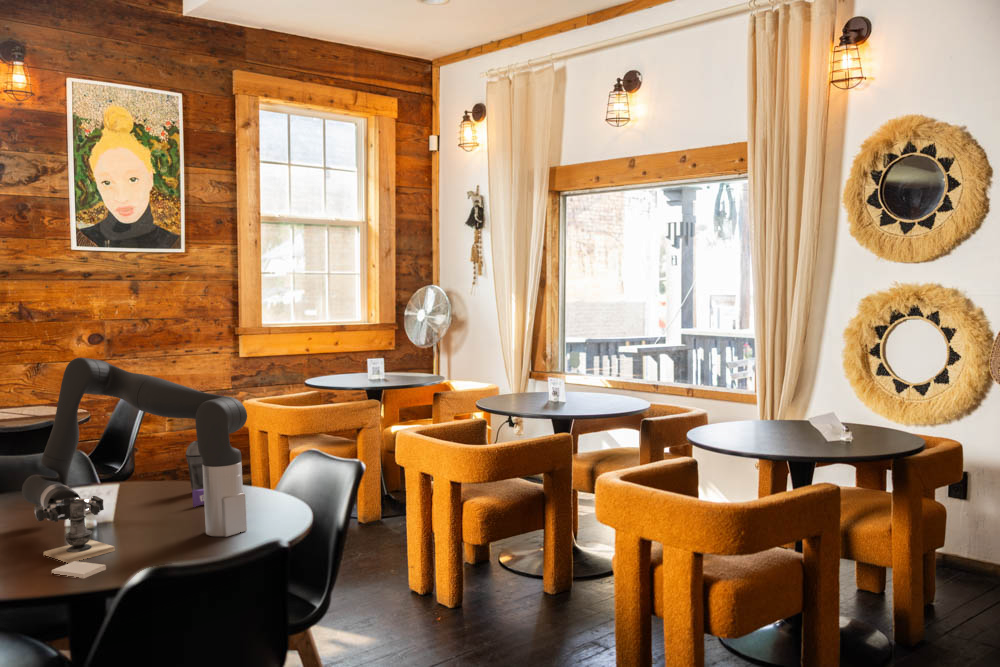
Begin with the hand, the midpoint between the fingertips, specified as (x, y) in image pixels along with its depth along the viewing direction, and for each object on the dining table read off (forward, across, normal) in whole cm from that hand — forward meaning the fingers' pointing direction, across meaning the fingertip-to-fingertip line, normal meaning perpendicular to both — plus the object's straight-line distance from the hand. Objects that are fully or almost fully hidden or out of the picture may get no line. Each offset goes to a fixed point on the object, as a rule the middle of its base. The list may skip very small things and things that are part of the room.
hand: (76, 514), depth 200 cm
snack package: (-24, +40, +10) cm, 48 cm away
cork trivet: (0, 0, +9) cm, 9 cm away
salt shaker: (0, 0, +8) cm, 8 cm away
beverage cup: (-39, +42, +10) cm, 58 cm away
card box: (+15, -3, +10) cm, 18 cm away
